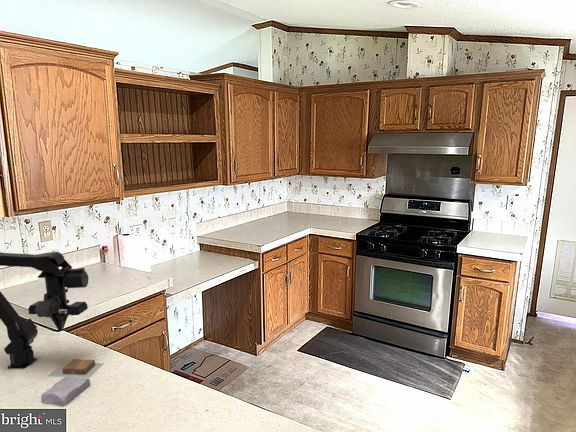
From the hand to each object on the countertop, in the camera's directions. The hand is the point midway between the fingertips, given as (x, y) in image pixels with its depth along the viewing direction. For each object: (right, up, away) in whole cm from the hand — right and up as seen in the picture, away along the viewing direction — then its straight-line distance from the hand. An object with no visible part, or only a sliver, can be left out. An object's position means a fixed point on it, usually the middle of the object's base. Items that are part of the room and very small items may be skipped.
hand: (61, 330), depth 143 cm
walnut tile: (+5, -11, -4) cm, 13 cm away
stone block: (+11, -15, -17) cm, 26 cm away
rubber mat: (+8, -13, -4) cm, 15 cm away
